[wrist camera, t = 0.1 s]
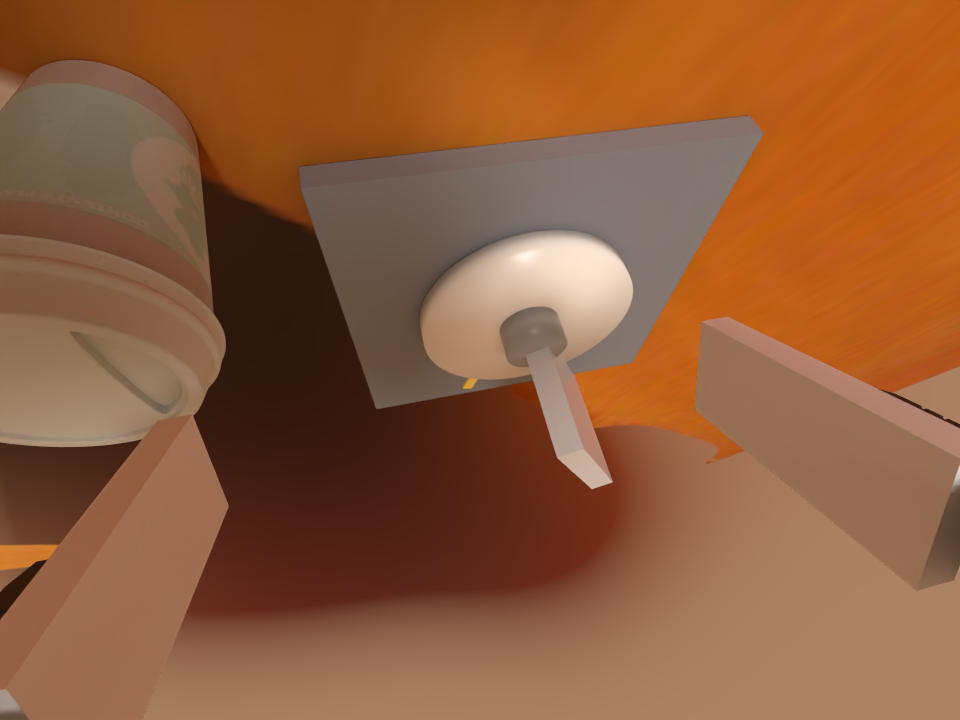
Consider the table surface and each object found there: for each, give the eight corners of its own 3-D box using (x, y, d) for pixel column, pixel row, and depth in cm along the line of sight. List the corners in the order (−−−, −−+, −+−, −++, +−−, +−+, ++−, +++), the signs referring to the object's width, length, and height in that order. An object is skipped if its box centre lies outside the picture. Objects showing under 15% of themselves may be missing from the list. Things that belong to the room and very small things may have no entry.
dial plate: (299, 166, 23) (300, 191, 22) (749, 115, 26) (765, 135, 25) (374, 393, 43) (376, 411, 42) (626, 348, 46) (632, 364, 45)
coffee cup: (209, 235, 25) (192, 458, 19) (-25, 173, 20) (-145, 449, 14) (259, 91, 20) (257, 337, 14) (-44, -44, 15) (-249, 254, 9)
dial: (376, 297, 30) (400, 465, 24) (604, 190, 26) (688, 359, 21) (485, 394, 44) (515, 513, 39) (641, 332, 40) (697, 454, 35)
